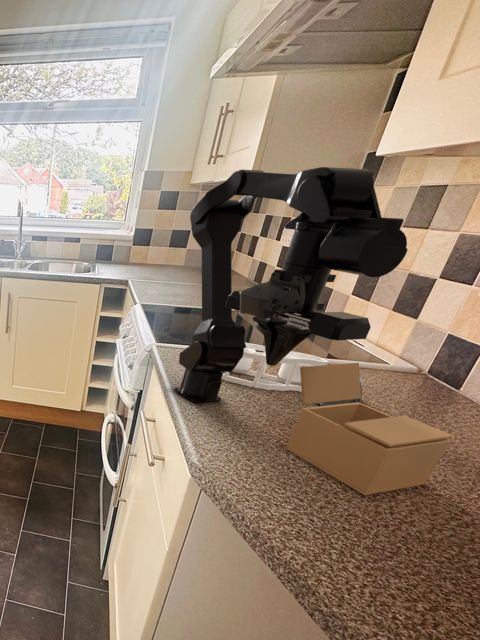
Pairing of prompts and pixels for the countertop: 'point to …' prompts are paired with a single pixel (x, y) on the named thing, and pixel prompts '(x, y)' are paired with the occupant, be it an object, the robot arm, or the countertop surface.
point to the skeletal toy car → (287, 371)
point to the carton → (367, 446)
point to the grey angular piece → (344, 400)
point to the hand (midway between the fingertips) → (270, 365)
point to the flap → (330, 383)
